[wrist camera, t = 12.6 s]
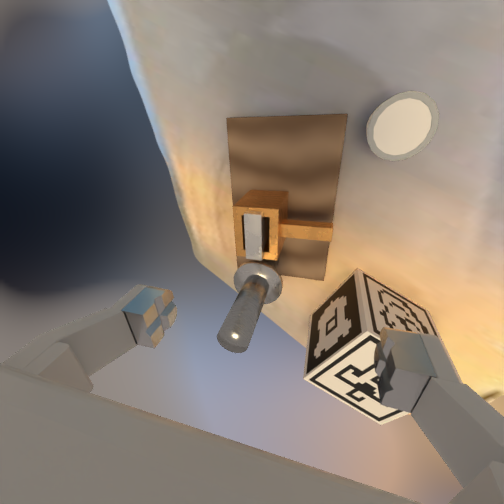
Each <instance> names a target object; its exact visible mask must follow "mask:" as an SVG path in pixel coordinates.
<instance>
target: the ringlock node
mask: <svg viewBox="0 0 504 504" xmlns="http://www.w3.org/2000/svg"><path fill="white" fill-rule="evenodd" d="M246 211H260V212H263V217H270V227H269V238H268V240H267V242H266V244H265V246H264V257H263V259H262V261H261V260H252V261H247V262H245V263H243V264H242V265H241V266H240V267H239V268H238V269H237V271H236V273H235V275H234V285H235V287H236V289H237V291H238V292H239V294H238V296H237V298H236V300H235V302H234V304H233V306H232V307H231V309H230V311H229V313H228V315H227V317H226V319H225V321H224V323H223V325H222V327H221V329H220V331H219V333H218V335H217V339H218V342H219V343H220V345H221V346H222V347H224V348H225V349H227V350H229V351H231V352H235V353H242V352H244V351H246V350H247V348H248V346H249V343H250V340H251V337H252V334H253V332H254V329H255V326H256V323H257V320H258V318H259V315H260V312H261V310H262V307H263V304H268V303H271V302H273V301H275V300H276V299H277V298H278V297H279V296H280V294H281V291H282V287H283V281H282V278H281V275H280V274H279V272H278V271H277V270H276V268H277V265H278V262H279V255H280V252H281V249H282V247H283V244H284V241H285V239H286V237H288V238H298V239H309V240H319V241H330V242H331V239H332V232H333V223H327V222H314V221H301V220H288V219H287V214H288V191H267V190H249V191H248V192H247V193H246V194H245V195H244V196H243V197H242V198H241V199H240V200H239V201H238V202H237V203H236V204H235V205H234V206H233V217H234V231H235V244H236V256H244V257H246V248H245V230H244V213H245V212H246Z"/></svg>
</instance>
